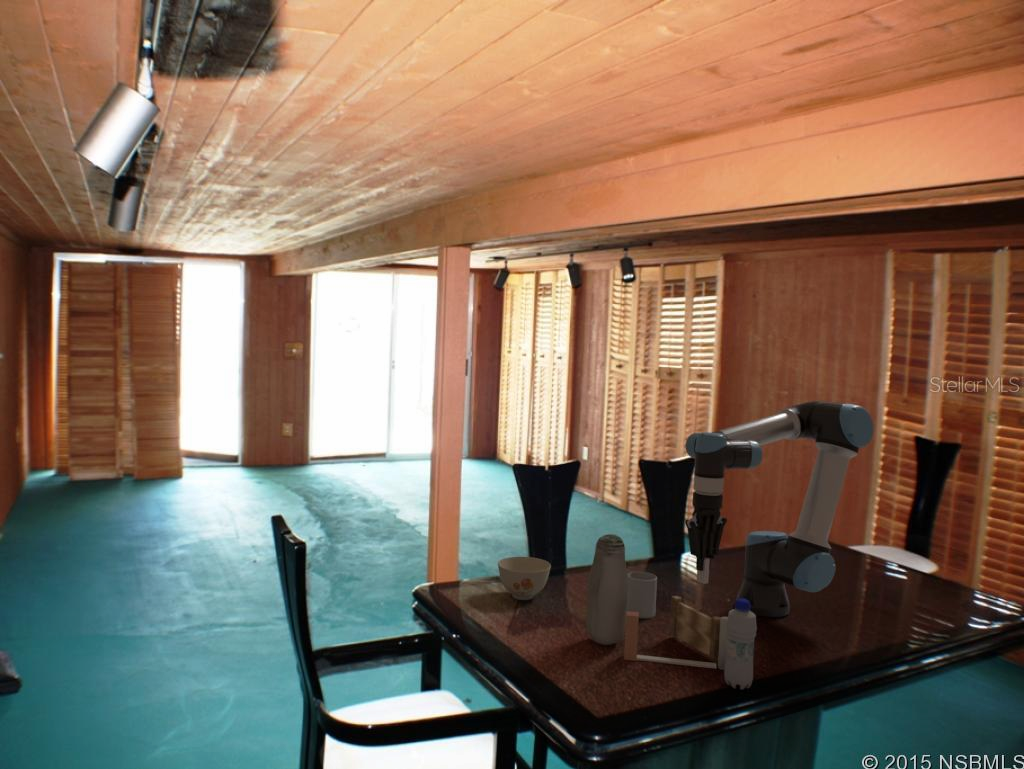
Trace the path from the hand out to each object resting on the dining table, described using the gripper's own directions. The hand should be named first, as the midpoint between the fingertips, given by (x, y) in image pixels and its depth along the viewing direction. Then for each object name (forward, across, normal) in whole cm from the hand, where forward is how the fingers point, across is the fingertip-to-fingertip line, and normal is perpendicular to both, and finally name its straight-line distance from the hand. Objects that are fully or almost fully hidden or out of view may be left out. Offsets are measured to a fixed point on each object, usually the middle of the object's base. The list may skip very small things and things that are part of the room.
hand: (702, 582), depth 196 cm
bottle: (+16, +10, +23) cm, 30 cm away
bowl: (+17, +24, -49) cm, 57 cm away
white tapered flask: (+16, +23, -10) cm, 30 cm away
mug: (+16, 0, -25) cm, 30 cm away
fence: (+16, +14, +7) cm, 23 cm away
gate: (+15, +5, +3) cm, 16 cm away
